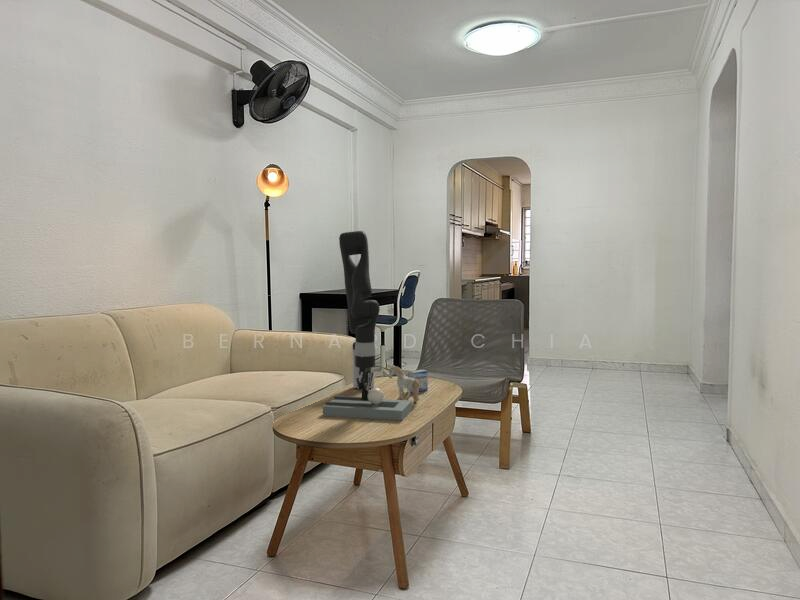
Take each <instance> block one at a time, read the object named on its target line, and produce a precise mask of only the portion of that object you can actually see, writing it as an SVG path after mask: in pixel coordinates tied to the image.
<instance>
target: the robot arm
mask: <svg viewBox="0 0 800 600" xmlns="http://www.w3.org/2000/svg"><path fill="white" fill-rule="evenodd" d="M338 240H339V241H338V242H339V250H340V253H341V254H340V256H341V261H342V266H343V276H344V277H343V278H344V287H345V288H344V289H345V295H346V302H347V313H348V314H347V315H348V328H349V329H348V330H349V331H350V333H351V334H354V335H355V341H354V342H353V343H352V385H353V386H352V387H354V388H353V389H355V388H357V389H356V390H360V391H361V397H362V400H365V401H367V400H368V397H367V395H368V392H369V391H370V390H371V389H372V388H375V369H374V368H375V366H376V342H375V341H376V339H375V338H376V337H375V334H376V333H375V332H376V326H377V322H378V317H379V314H380V303H379V302H378V300H375V299H368V298H370V297H371V295H372V293H373V292H372V285H371V283H372V282H371V278H370V256H369V253H370V251H369V242H368V237H367V233H366V232H365V231H364V230H354V231H346V232H341V233H340V235H339V237H338ZM356 255H360V258H359V261H358V263H357V265H356V264H355V262H354V261H353V260H352V258H351V256H356ZM370 388H371V389H370Z"/></svg>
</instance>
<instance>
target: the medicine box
mask: <svg viewBox="0 0 800 600" xmlns="http://www.w3.org/2000/svg"><path fill="white" fill-rule="evenodd" d="M428 374H429V372H428V370H426V369H417V370H412V371H407V377H408V378H414V379H416V380H417V381H418V382H419V385H420V386H419V391H421V392H424V391H423V390H426V391H428V390H429V375H428ZM427 389H428V390H427ZM410 391H411V393H413V388H411V390H410Z"/></svg>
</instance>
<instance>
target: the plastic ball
mask: <svg viewBox="0 0 800 600" xmlns="http://www.w3.org/2000/svg"><path fill="white" fill-rule="evenodd" d="M384 396H385V395H384V392H383V390H382V389H381V388H379V387H373V388H371V389H369V390H368V395H367V397H368V400H369V402H370V403H372V404H379V403H380V402H382V400H383V399H384Z"/></svg>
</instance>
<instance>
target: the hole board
mask: <svg viewBox="0 0 800 600" xmlns="http://www.w3.org/2000/svg"><path fill="white" fill-rule="evenodd" d="M324 403H325V404H324V405H322V416H324V417H335V418H337V417H338V418H355V419H356V418H357V419H368V418H369V420H370V419H371V420H372V419H373V420H384V419H388V421H400V420H402V421H404V419H406V417H407V416H408V415H409V414H410V413H411V412H410V411H411V410H413V400H409V399H408V400H405V399H402V400H398V399H389V398H387V399H386V398H383V400H382V402H380V403H379V404H372V403H370V402H369V400H367V401H365V400H362V396H348V395H347V396H346V395H334V396H333V399H331V400H330V401H328V400H326V401H325V402H324ZM409 412H410V413H409Z"/></svg>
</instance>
